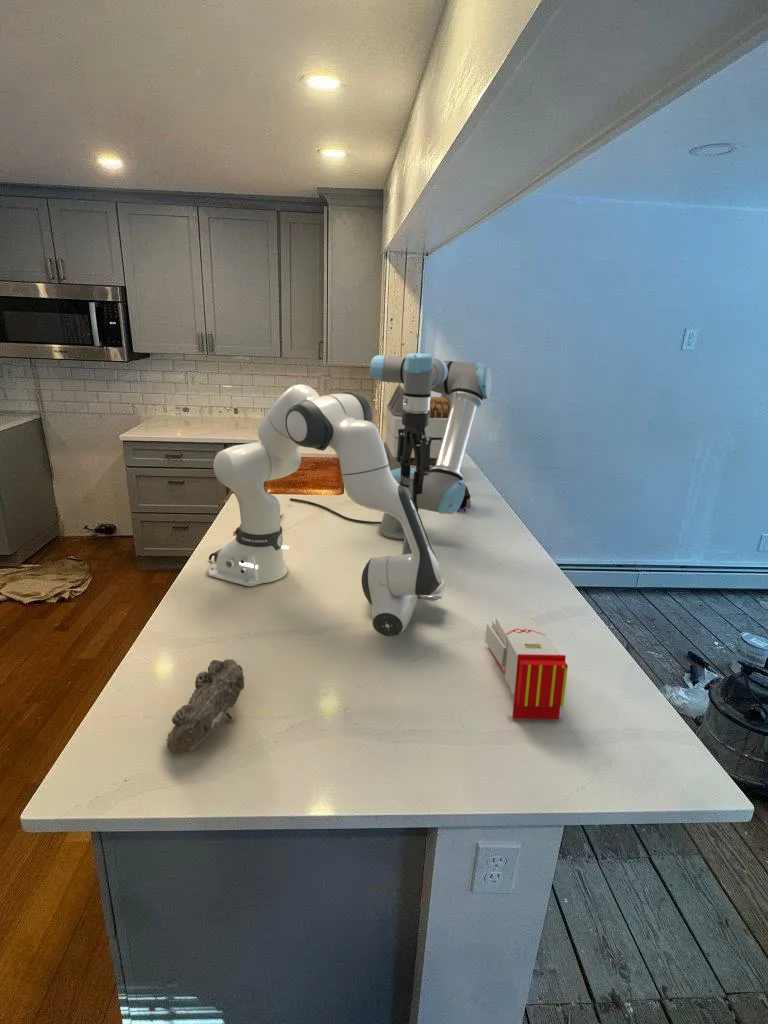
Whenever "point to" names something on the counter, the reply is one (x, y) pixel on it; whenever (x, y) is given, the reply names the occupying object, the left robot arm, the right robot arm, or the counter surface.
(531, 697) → the toy
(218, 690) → the fossil
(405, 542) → the jar
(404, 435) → the right robot arm
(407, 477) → the lid
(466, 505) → the figurine character
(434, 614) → the counter surface
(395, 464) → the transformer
